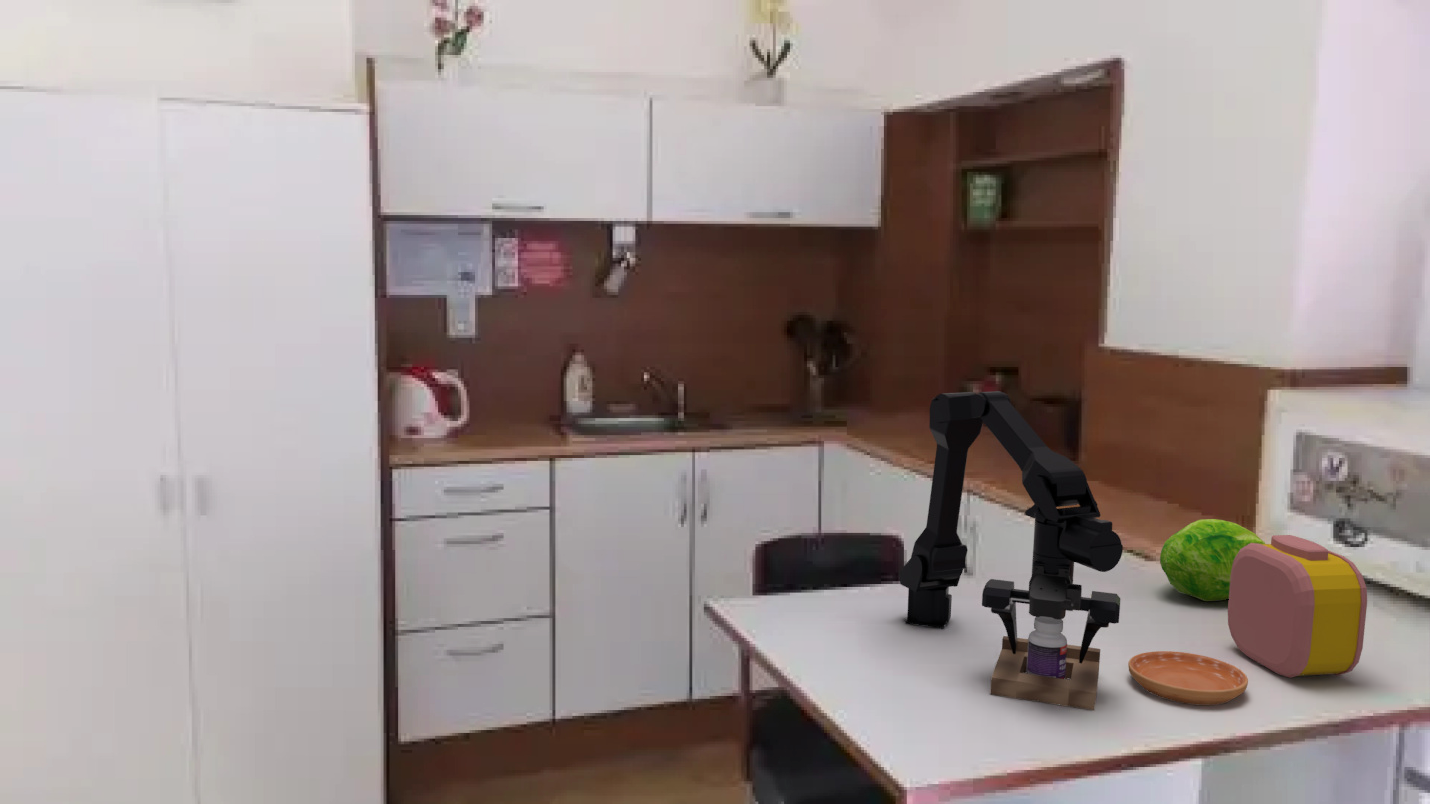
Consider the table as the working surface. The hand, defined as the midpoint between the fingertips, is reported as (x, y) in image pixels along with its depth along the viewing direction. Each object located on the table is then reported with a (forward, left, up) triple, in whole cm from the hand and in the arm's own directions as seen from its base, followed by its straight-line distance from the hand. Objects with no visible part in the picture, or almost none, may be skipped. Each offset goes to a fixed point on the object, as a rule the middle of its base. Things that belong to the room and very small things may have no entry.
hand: (1047, 657), depth 163 cm
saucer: (+19, +7, -4) cm, 21 cm away
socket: (0, 0, -4) cm, 4 cm away
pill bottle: (0, 0, -4) cm, 4 cm away
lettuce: (+25, +56, -4) cm, 62 cm away
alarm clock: (+34, +23, -4) cm, 41 cm away
